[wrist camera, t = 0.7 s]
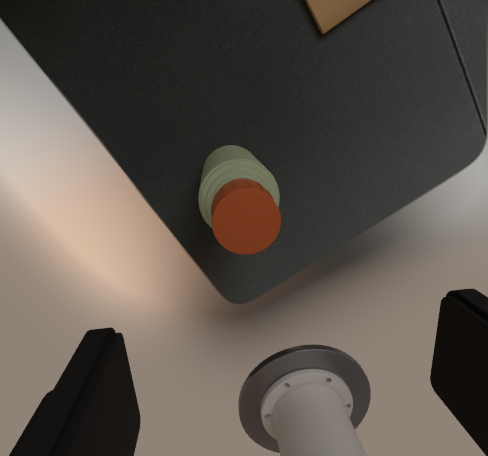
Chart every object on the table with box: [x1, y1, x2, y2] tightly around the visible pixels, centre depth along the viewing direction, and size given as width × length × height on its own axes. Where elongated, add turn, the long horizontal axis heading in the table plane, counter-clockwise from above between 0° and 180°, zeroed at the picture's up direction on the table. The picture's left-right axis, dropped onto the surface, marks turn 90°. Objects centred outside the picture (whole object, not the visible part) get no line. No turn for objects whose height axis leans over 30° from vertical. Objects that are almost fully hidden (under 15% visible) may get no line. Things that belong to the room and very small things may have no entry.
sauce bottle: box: [198, 145, 279, 228], centre depth 28 cm, size 6×6×16 cm
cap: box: [211, 178, 281, 255], centre depth 21 cm, size 4×4×3 cm
